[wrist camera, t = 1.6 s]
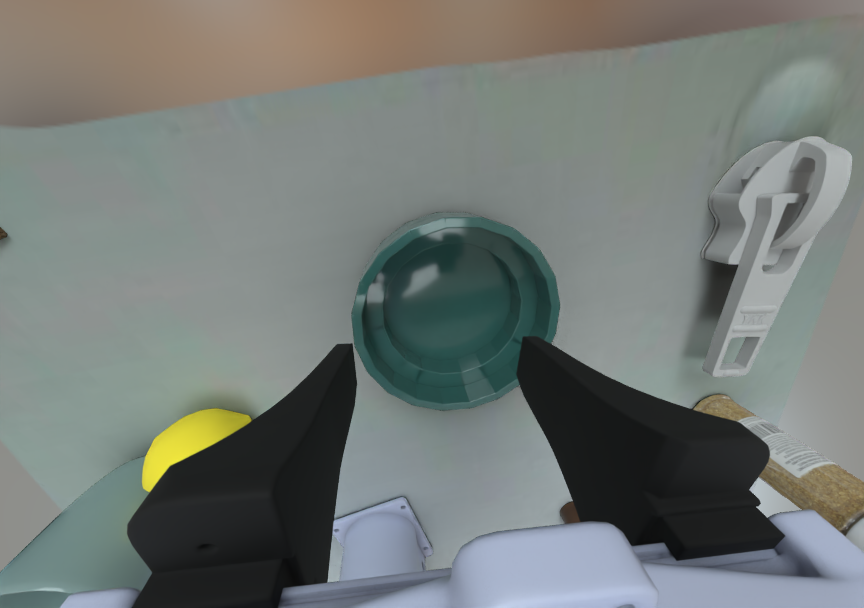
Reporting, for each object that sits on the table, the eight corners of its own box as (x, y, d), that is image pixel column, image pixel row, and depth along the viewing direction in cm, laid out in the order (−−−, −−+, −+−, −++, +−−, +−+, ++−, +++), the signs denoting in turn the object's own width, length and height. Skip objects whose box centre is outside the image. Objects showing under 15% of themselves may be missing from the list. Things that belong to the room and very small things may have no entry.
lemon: (111, 487, 17) (117, 442, 21) (171, 538, 19) (167, 488, 23) (239, 405, 21) (224, 379, 25) (277, 456, 23) (258, 425, 27)
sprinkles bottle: (680, 428, 32) (869, 585, 19) (698, 391, 30) (917, 536, 17) (718, 428, 32) (924, 579, 20) (737, 392, 31) (974, 532, 18)
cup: (229, 501, 28) (148, 659, 18) (134, 508, 27) (-3, 679, 17) (213, 435, 25) (107, 580, 16) (106, 440, 24) (-75, 598, 15)
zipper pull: (656, 359, 28) (700, 387, 24) (728, 138, 22) (805, 127, 18) (731, 355, 29) (785, 382, 25) (821, 143, 22) (914, 133, 18)
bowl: (543, 343, 26) (572, 373, 22) (396, 394, 26) (397, 434, 22) (510, 185, 21) (539, 184, 17) (329, 248, 21) (313, 263, 17)
